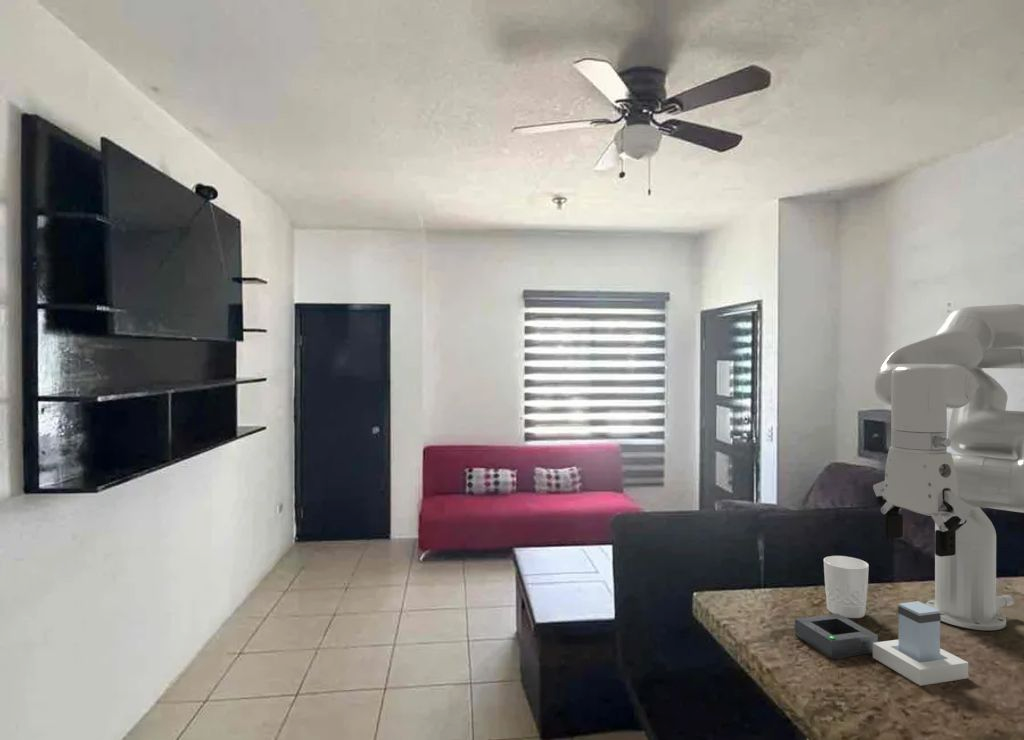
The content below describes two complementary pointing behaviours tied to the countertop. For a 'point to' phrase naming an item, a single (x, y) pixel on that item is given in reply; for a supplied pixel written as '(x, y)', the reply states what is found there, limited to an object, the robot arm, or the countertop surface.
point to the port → (835, 635)
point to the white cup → (846, 585)
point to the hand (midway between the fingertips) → (918, 546)
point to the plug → (919, 631)
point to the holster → (920, 664)
